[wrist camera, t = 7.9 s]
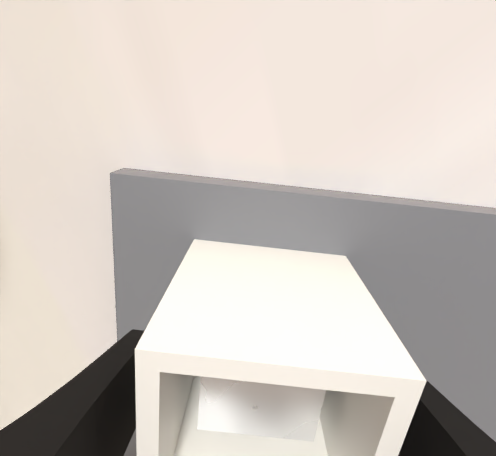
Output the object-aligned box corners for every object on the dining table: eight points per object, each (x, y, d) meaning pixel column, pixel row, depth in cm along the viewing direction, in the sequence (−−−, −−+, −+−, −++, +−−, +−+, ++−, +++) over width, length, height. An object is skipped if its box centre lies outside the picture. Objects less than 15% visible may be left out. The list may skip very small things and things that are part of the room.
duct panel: (627, 222, 12) (665, 232, 11) (484, 489, 18) (500, 515, 16) (123, 168, 12) (109, 173, 11) (132, 453, 17) (123, 476, 16)
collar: (345, 256, 12) (426, 380, 6) (318, 375, 14) (360, 554, 8) (194, 239, 12) (134, 349, 6) (187, 360, 14) (137, 530, 8)
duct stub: (307, 262, 13) (336, 346, 8) (295, 332, 14) (313, 441, 10) (223, 253, 13) (203, 332, 8) (217, 324, 14) (197, 429, 10)
